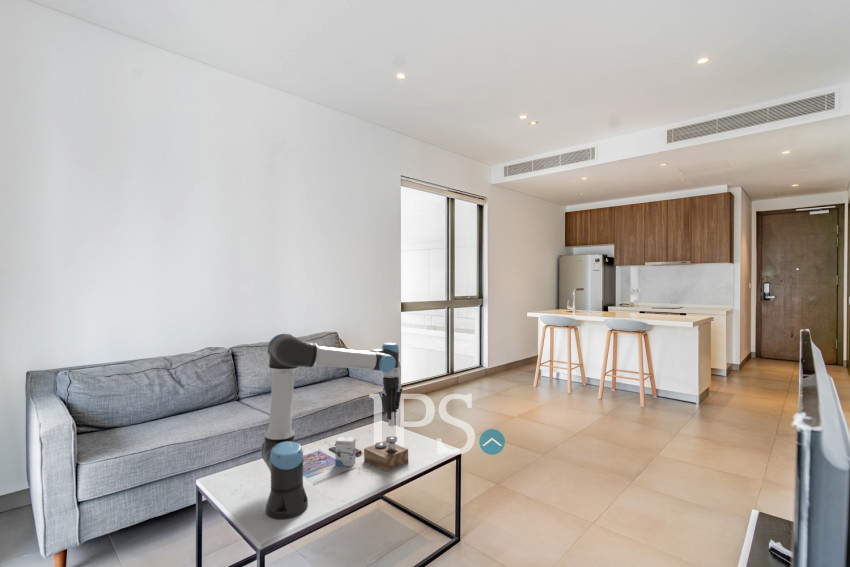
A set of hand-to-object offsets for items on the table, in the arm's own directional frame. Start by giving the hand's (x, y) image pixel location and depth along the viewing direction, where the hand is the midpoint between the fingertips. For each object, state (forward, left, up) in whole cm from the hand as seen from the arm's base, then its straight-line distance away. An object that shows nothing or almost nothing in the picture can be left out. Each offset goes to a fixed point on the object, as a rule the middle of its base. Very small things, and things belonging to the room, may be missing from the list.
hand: (391, 425), depth 197 cm
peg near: (0, 0, -13) cm, 13 cm away
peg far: (0, +8, -18) cm, 20 cm away
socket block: (0, +4, -18) cm, 18 cm away
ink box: (-15, +16, -18) cm, 28 cm away
